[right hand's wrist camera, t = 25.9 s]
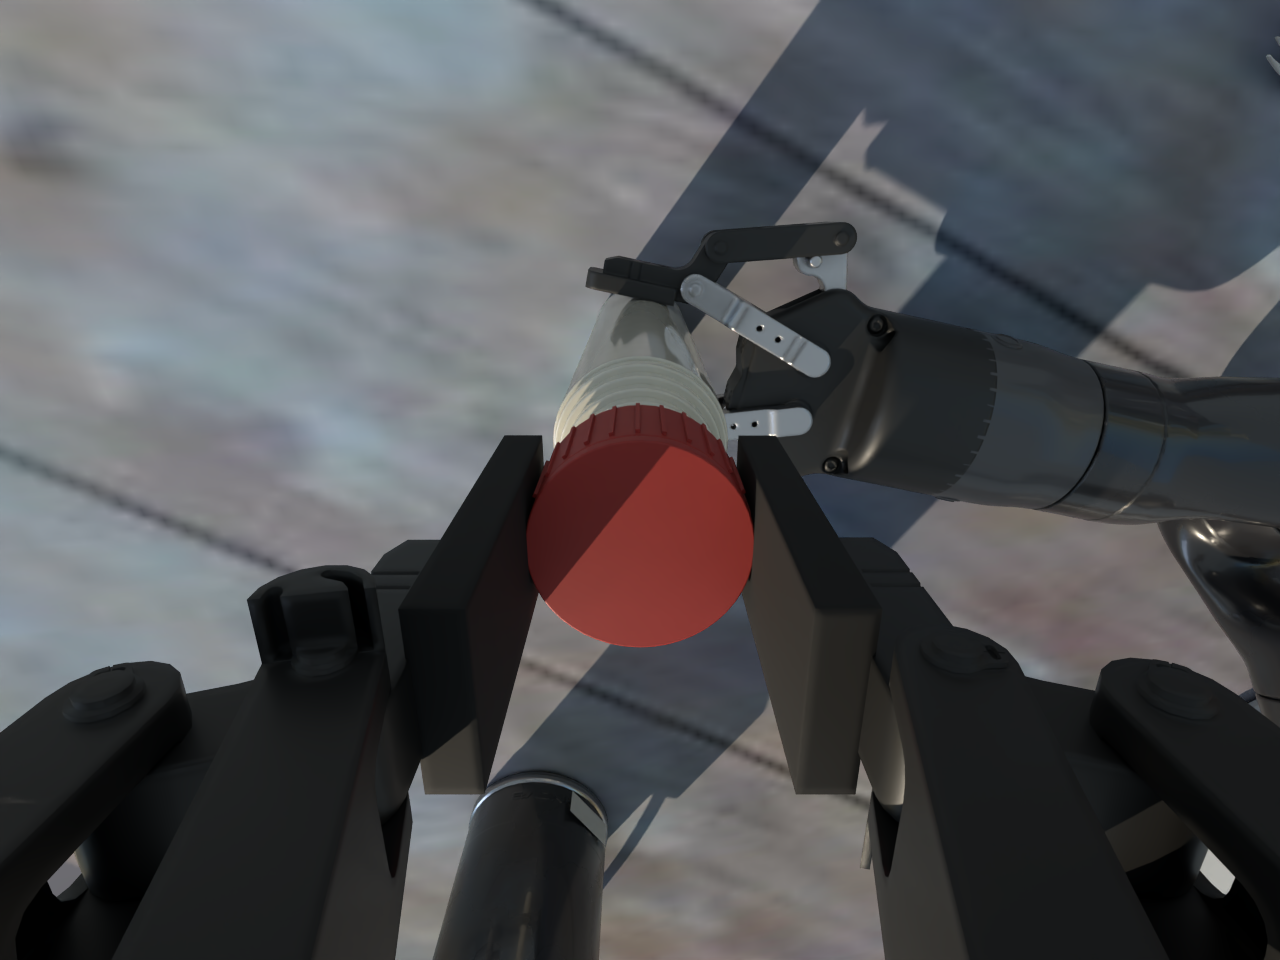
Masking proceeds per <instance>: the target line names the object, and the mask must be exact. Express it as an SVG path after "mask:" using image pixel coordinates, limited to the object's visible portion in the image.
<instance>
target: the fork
mask: <svg viewBox="0 0 1280 960" xmlns="http://www.w3.org/2000/svg"><path fill="white" fill-rule="evenodd" d="M1275 39H1276V41H1277V43H1278V44H1279V46H1280V37H1279V36H1277V37H1275ZM1266 58H1267V60H1268V61H1269V63H1270V64H1271V66H1272V67H1273V68H1274V70H1275V71H1276V72H1277V73H1278V74H1279V76H1280V64H1279V63H1278V62H1277V61H1276V60H1275V59H1274V58H1273V57H1272V56H1271V55H1267V56H1266Z"/></svg>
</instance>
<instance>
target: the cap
mask: <svg viewBox="0 0 1280 960" xmlns="http://www.w3.org/2000/svg"><path fill="white" fill-rule="evenodd" d="M745 493H746V491H745V488H744V486H743V483H742V480H741V478H740V475H739V473H738V470H737V467H736V465H735V462H734V460H733V458H732V457H730V458H729V456H728V454H727V453H726V451H725V448H724V445H723V443H722V441H721V439H720V438H719V439H718V440H717V439H716V438H715V437H714V435H713V434H712V433H710V432H709V431H708V430H707V427H706V425H705V424H704V423H702V424H699V423H698V422H696V421H695V420H693V419H692V418H690V417H688V416H687V415H686V413H685V412H682V413H679V412H676V411H674V410H671V409H667V408H664V405H659V407H658V406H650V405H640V403H636V405H629V406H623V407H617V406H612V409H610V410H607V411H603V412H601V413H599V414H597V415H595V414H594V413H593V414H591V415H590V418H589V419H587V420H585V421H584V422H582V423H581V424H579V425H578V426H577V427H575V426H573V427H572V428H571V430H570V433H569V434H568V435H567V436H566V437H565V438H564V439H563V440H562V441H561V443H560V442H557V443H556V445H555V448H554V451H553V453H552V456H551V459H550V461H547V460H546V463H545V465H544V468H543V470H542V473H541V475H540V478H539V481H538V483H537V486H536V488H535V491H534V494H533V496H532V497H534V498H535V501H534V504H533V506H532V509H531V512H530V515H529V518H528V522H527V528H526V537H527V553H528V567H529V572H530V575H531V577H532V580H533V582H534V584H535V587H536V588H537V590H538V592H539V593H540V595H541V597H542V598H543V600H544V601H545V602H546V603H547V605H548V606H549V607H550V609H551V610H552V611H553V612H554V613H555V614H556V615H558V616H559V617H560V618H561V619H562V620H563V621H564V622H566V623H567V624H568V625H570V626H571V627H573V628H574V629H576V630H578V631H579V632H581V633H583V634H585V635H587V636H590V637H592V638H594V639H596V640H600V641H603V642H606V643H610V644H614V645H620V646H627V647H654V646H660V645H667V644H670V643H674V642H678V641H681V640H683V639H686V638H688V637H691V636H693V635H695V634H697V633H699V632H701V631H703V630H705V629H706V628H708V627H709V626H710V625H712V624H713V623H715V622H716V621H717V620H718V619H719V618H721V617H722V616H723V615H724V614H725V613H726V612H727V611H728V610H729V609H730V607H731V606H732V605H733V604H734V603H735V602H736V600H737V599H738V597H739V595H740V594H741V592H742V591H743V589H744V587H745V585H746V583H747V581H748V578H749V576H750V572H751V569H752V560H753V545H754V525H753V521H752V518H751V511H750V508H749V505H748V502H747V500H746V497H745Z"/></svg>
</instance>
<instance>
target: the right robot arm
mask: <svg viewBox="0 0 1280 960" xmlns="http://www.w3.org/2000/svg"><path fill="white" fill-rule="evenodd" d="M543 468H544V462H543V444H542V435H505V436H504V437H503V439H502V441H501V442H500V444H499V445H498V447H497V449H496V450H495V452H494V454H493V455H492V457H491V458H490V460H489V462H488V463H487V465H486V467H485V468H484V470H483V471H482V473H481V475H480V476H479V478H478V480H477V481H476V483H475V484H474V486H473V488H472V489H471V491H470V493H469V494H468V496H467V497H466V499H465V501H464V502H463V504H462V506H461V507H460V509H459V510H458V512H457V514H456V515H455V517H454V519H453V520H452V522H451V524H450V525H449V527H448V528H447V530H446V532H445V533H444V535H443V537H442V538H441V540H407V541H405V542H404V543H402V544H400V545H399V546H397V547H395V548H394V549H392V550H391V551H389V552H387V553H386V554H384V555H383V557H382V558H381V559H380V561H379V562H378V563H377V565H376V566H375V567H374V569H373V570H372V571H371V574H370V573H368V572H367V571H366V570H365V569H361V568H356V567H352V566H348V565H325V566H319V567H313V568H307V569H302V570H299V571H295V572H292V573H289V574H286V575H283V576H280V577H278V578H276V579H274V580H272V581H270V582H269V583H267V584H265V585H263V586H261V587H259V588H258V589H257V590H256V591H255V592H254V593H253V594H252V595H251V596H250V597H249V598H248V599H247V602H248V606H249V611H250V615H251V619H252V623H253V628H254V632H255V636H256V640H257V645H258V649H259V653H260V657H261V661H262V665H261V667H260V669H259V671H258V673H257V675H256V677H255V679H254V680H251V681H247V682H243V683H240V684H235V685H229V686H224V687H219V688H214V689H209V690H204V691H198V692H193V693H188V694H186V691H185V688H184V684H183V681H182V677H181V674H180V672H179V671H178V670H176V669H175V668H174V667H173V666H172V665H170V664H166V663H160V662H154V661H145V662H134V663H122V664H117V665H113V667H110V666H108V667H105V668H102V669H98V670H95V671H93V672H92V673H90V674H89V675H86V676H84V677H82V678H79V679H77V680H74V681H72V682H70V683H68V684H67V685H65V686H63V687H62V688H60V689H59V690H57V691H55V692H54V693H52V694H51V695H49V696H47V697H46V698H44V699H43V700H42V701H41V702H39V703H38V704H37V705H35V706H34V707H33V708H32V709H30V710H29V711H28V712H26V713H25V714H24V715H22V716H21V717H20V718H19V719H17V720H16V721H15V722H13V723H12V724H11V725H10V726H8V727H7V728H6V729H4V730H3V731H2V732H0V960H395V956H396V948H397V940H398V932H399V924H400V917H401V909H402V901H403V893H404V885H405V877H406V870H407V862H408V854H409V846H410V838H411V831H412V823H413V821H412V814H411V806H410V800H409V794H408V790H409V788H410V786H411V783H412V781H413V778H414V776H415V773H416V771H417V768H418V766H419V763H421V770H422V777H423V783H424V790H425V794H485V791H486V787H487V783H488V780H489V776H490V772H491V768H492V765H493V761H494V757H495V754H496V750H497V746H498V742H499V739H500V735H501V731H502V727H503V724H504V720H505V716H506V713H507V709H508V705H509V701H510V698H511V694H512V690H513V686H514V683H515V679H516V675H517V672H518V668H519V664H520V660H521V657H522V653H523V649H524V645H525V642H526V638H527V634H528V631H529V627H530V623H531V619H532V616H533V612H534V608H535V604H536V601H537V597H538V593H539V592H538V590H537V588H536V587H535V584H534V582H533V580H532V577H531V575H530V572H529V567H528V553H527V537H526V528H527V522H528V518H529V515H530V512H531V509H532V506H533V504H534V501H535V498H534V497H532V496H533V494H534V491H535V488H536V486H537V483H538V481H539V478H540V475H541V473H542V470H543ZM737 470H738V473H739V475H740V478H741V480H742V483H743V486H744V488H745V491H746V493H745V497H746V500H747V502H748V505H749V508H750V511H751V518H752V521H753V525H754V545H753V560H752V569H751V572H750V576H749V578H748V581H747V583H746V585H745V587H744V589H743V591H742V595H743V599H744V603H745V606H746V610H747V614H748V618H749V621H750V625H751V629H752V633H753V636H754V640H755V644H756V647H757V651H758V655H759V659H760V662H761V666H762V670H763V674H764V677H765V681H766V685H767V688H768V692H769V696H770V700H771V703H772V707H773V711H774V715H775V718H776V722H777V726H778V729H779V733H780V737H781V741H782V744H783V748H784V752H785V756H786V759H787V763H788V767H789V770H790V774H791V778H792V782H793V785H794V789H795V793H796V794H856V787H857V780H858V773H859V766H860V759H861V761H862V763H863V766H864V768H865V771H866V773H867V776H868V778H869V781H870V783H871V786H872V794H871V800H870V806H869V813H868V819H867V825H866V832H865V838H864V844H863V851H862V858H861V865H860V868H864V869H870V864H871V858H872V860H873V868H874V876H875V884H876V892H877V899H878V907H879V915H880V923H881V931H882V938H883V946H884V954H885V960H1280V727H1278V726H1277V725H1276V724H1275V723H1273V722H1272V721H1271V720H1269V719H1268V718H1267V717H1265V716H1264V715H1263V714H1262V713H1260V712H1259V711H1258V710H1256V709H1255V708H1254V707H1252V706H1251V705H1250V704H1248V703H1247V702H1246V701H1245V700H1243V699H1242V698H1241V697H1239V696H1238V695H1237V694H1235V693H1234V692H1232V691H1230V690H1229V689H1227V688H1226V687H1224V686H1222V685H1221V684H1219V683H1217V682H1216V681H1214V680H1213V679H1210V678H1208V677H1206V676H1203V675H1201V674H1199V673H1196V672H1194V671H1192V670H1191V669H1189V668H1187V667H1184V666H1181V665H1178V664H1174V663H1172V664H1169V662H1166V661H1161V660H1155V659H1153V660H1150V659H1139V658H1126V659H1120V660H1114V661H1111V662H1110V663H1109V664H1107V665H1106V666H1105V667H1104V668H1102V669H1101V673H1100V676H1099V680H1098V683H1097V686H1096V690H1095V691H1093V690H1088V689H1083V688H1078V687H1073V686H1067V685H1062V684H1057V683H1052V682H1047V681H1042V680H1038V679H1034V678H1030V677H1026V676H1025V675H1024V673H1023V671H1022V670H1021V668H1020V666H1019V664H1018V662H1017V661H1016V660H1015V659H1014V657H1013V656H1012V655H1011V654H1010V653H1009V651H1008V650H1007V649H1005V648H1004V647H1002V646H1001V645H999V644H998V643H996V642H995V641H993V640H992V639H990V638H988V637H986V636H983V635H981V634H978V633H976V632H973V631H971V630H968V629H964V628H959V627H954V626H953V625H952V624H951V623H950V621H949V620H948V619H947V618H946V616H945V615H944V614H943V612H942V611H941V610H940V608H939V607H938V606H937V604H936V603H935V602H934V600H933V599H932V598H931V597H930V595H929V594H928V593H927V591H926V590H925V589H924V587H921V586H920V582H919V581H918V579H917V578H916V577H915V575H914V574H913V573H912V572H910V569H909V568H908V566H907V565H906V564H905V562H904V561H903V560H902V558H901V557H900V556H899V554H898V553H897V552H896V551H894V550H892V549H891V548H889V547H888V546H886V545H884V544H883V543H881V542H879V541H878V540H876V539H874V538H839V537H838V536H837V534H836V532H835V531H834V529H833V528H832V526H831V524H830V523H829V521H828V519H827V518H826V516H825V515H824V513H823V511H822V510H821V508H820V506H819V505H818V503H817V502H816V500H815V498H814V497H813V495H812V493H811V492H810V490H809V489H808V487H807V485H806V484H805V482H804V480H803V479H802V477H801V476H800V474H799V472H798V471H797V469H796V467H795V466H794V464H793V463H792V461H791V459H790V458H789V456H788V454H787V453H786V451H785V450H784V448H783V446H782V445H781V443H780V441H779V440H778V438H777V437H776V435H738V452H737ZM1208 849H1209V850H1210V851H1211V852H1212V853H1213V854H1214V855H1215V856H1216V857H1217V858H1218V860H1219V861H1220V862H1221V863H1222V864H1223V865H1224V866H1225V867H1226V868H1227V869H1228V870H1229V871H1230V872H1231V873H1232V874H1233V875H1234V877H1235V879H1234V881H1233V883H1232V886H1231V888H1230V890H1229V892H1228V893H1227V894H1223V893H1222V892H1221V891H1220V890H1219V889H1217V888H1216V887H1215V886H1214V885H1213V884H1212V883H1211V882H1210V881H1209V880H1208V879H1207V878H1206V877H1205V875H1204V874H1203V873H1202V872H1201V871H1200V869H1201V866H1202V864H1203V861H1204V859H1205V856H1206V854H1207V851H1208ZM73 853H74V855H75V857H76V860H77V862H78V865H79V867H80V870H81V872H82V874H81V875H80V876H79V877H78V878H77V879H76V880H75V881H74V883H73V884H72V885H71V886H70V887H69V888H67V889H66V890H65V891H64V892H62V893H61V894H60V895H59V896H57V897H56V896H55V895H53V893H52V891H51V889H50V886H49V884H48V882H47V881H48V879H49V878H50V877H51V876H52V875H53V874H54V873H55V872H56V871H57V870H58V869H59V868H60V867H61V866H62V865H63V863H64V862H65V861H66V860H67V859H68V858H69V857H70V856H71V855H72V854H73Z"/></svg>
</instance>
